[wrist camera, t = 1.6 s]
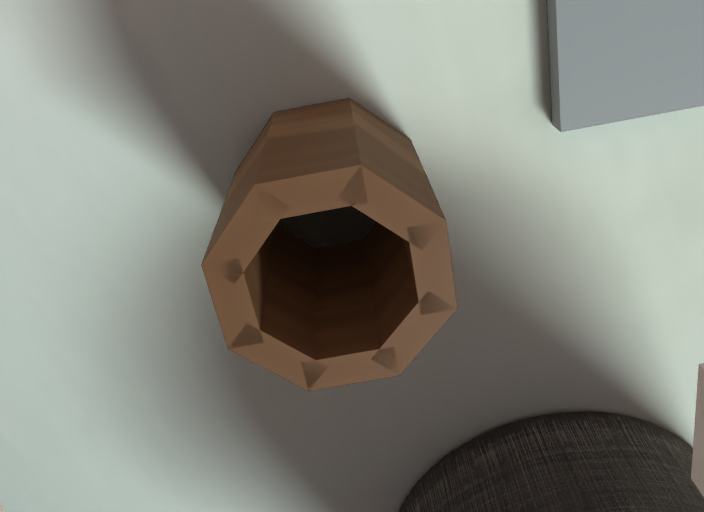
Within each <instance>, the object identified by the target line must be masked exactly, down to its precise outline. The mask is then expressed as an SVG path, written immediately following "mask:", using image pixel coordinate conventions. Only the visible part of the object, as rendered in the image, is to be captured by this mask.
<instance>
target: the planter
mask: <svg viewBox="0 0 704 512" xmlns="http://www.w3.org/2000/svg"><path fill="white" fill-rule="evenodd" d="M692 456H693V449H692V448H691V447H690V446H689V445H688V444H687V443H685V442H684V441H683V440H682V439H680V438H678V437H677V436H675V435H674V434H672V433H670V432H668V431H666V430H665V429H663V428H661V427H658V426H656V425H653V424H651V423H648V422H645V421H642V420H639V419H635V418H631V417H627V416H622V415H616V414H608V413H597V412H571V413H560V414H552V415H545V416H540V417H535V418H530V419H526V420H523V421H519V422H515V423H512V424H509V425H506V426H503V427H500V428H498V429H495V430H493V431H491V432H488V433H486V434H484V435H482V436H480V437H478V438H476V439H474V440H472V441H470V442H468V443H467V444H465V445H463V446H461V447H460V448H458V449H457V450H455V451H454V452H452V453H451V454H449V455H448V456H447V457H445V458H444V459H443V460H441V461H440V462H439V463H438V464H437V465H436V466H434V467H433V468H432V469H431V470H430V471H429V472H428V473H427V474H426V475H425V476H424V477H423V478H422V479H421V480H420V481H419V483H418V484H417V485H416V486H415V487H414V489H413V490H412V491H411V493H410V494H409V496H408V497H407V499H406V500H405V502H404V504H403V505H402V507H401V509H400V511H399V512H704V497H703V495H702V494H701V492H700V491H699V489H698V488H697V486H696V485H695V483H694V482H693V480H692V479H691V470H692Z"/></svg>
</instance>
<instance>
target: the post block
mask: <svg viewBox="0 0 704 512" xmlns="http://www.w3.org/2000/svg"><path fill="white" fill-rule="evenodd" d="M547 11H548V33H549V56H550V79H551V102H552V124H553V126H554V127H555V128H557V129H558V130H559V131H560V132H564V131H569V130H575V129H580V128H585V127H591V126H596V125H602V124H607V123H612V122H618V121H623V120H629V119H634V118H639V117H645V116H650V115H655V114H661V113H666V112H672V111H677V110H682V109H688V108H693V107H699V106H704V0H547Z"/></svg>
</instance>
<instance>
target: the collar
mask: <svg viewBox="0 0 704 512" xmlns="http://www.w3.org/2000/svg"><path fill="white" fill-rule="evenodd" d="M347 206H353V207H354V208H356V209H357V210H359V211H361V212H362V213H364V214H365V215H367V216H369V217H370V218H372V219H373V220H375V221H376V222H378V223H377V224H376V225H375V227H374V228H373V229H372V230H371V232H370V233H369V234H368V236H367V237H366V238H365V240H362V241H356V242H351V243H345V244H340V245H334V246H329V247H323V248H316V247H314V246H312V245H311V244H309V243H307V242H306V241H304V240H302V239H301V238H299V237H297V236H295V235H294V234H292V233H290V232H289V231H287V230H285V229H284V228H282V227H280V226H279V225H277V223H278V222H279V220H280V219H282V218H287V217H293V216H298V215H304V214H309V213H315V212H320V211H326V210H331V209H336V208H342V207H347ZM201 266H202V269H203V272H204V275H205V278H206V281H207V284H208V288H209V291H210V294H211V297H212V300H213V303H214V306H215V310H216V313H217V316H218V319H219V322H220V325H221V328H222V332H223V335H224V338H225V341H226V344H227V347H228V349H229V350H231V351H233V352H235V353H237V354H239V355H241V356H242V357H244V358H246V359H248V360H250V361H252V362H254V363H256V364H258V365H260V366H262V367H264V368H265V369H267V370H269V371H271V372H273V373H275V374H277V375H279V376H281V377H283V378H285V379H286V380H288V381H290V382H292V383H294V384H296V385H298V386H300V387H302V388H304V389H306V390H307V391H312V390H317V389H323V388H329V387H335V386H341V385H347V384H352V383H358V382H364V381H370V380H376V379H381V378H387V377H393V376H399V375H400V374H401V373H402V372H403V371H404V369H405V368H406V367H407V366H408V365H409V364H410V362H411V361H412V360H413V359H414V358H415V357H416V356H417V354H418V353H419V352H420V351H421V350H422V349H423V347H424V346H425V345H426V344H427V343H428V342H429V341H430V339H431V338H432V337H433V336H434V335H435V334H436V332H437V331H438V330H439V329H440V328H441V327H442V326H443V324H444V323H445V322H446V321H447V320H448V319H449V317H450V316H451V315H452V314H453V313H454V312H455V311H456V309H457V304H456V296H455V288H454V280H453V272H452V264H451V256H450V248H449V240H448V232H447V224H446V219H445V217H444V215H443V213H442V210H441V208H440V206H439V203H438V201H437V199H436V197H435V194H434V192H433V190H432V187H431V185H430V183H429V180H428V178H427V176H426V174H425V171H424V169H423V167H422V164H421V162H420V160H419V157H418V155H417V153H416V151H415V148H414V146H413V144H412V141H411V140H410V139H409V138H407V137H406V136H404V135H403V134H401V133H400V132H398V131H397V130H395V129H394V128H393V127H391V126H390V125H388V124H387V123H385V122H384V121H382V120H381V119H379V118H378V117H377V116H375V115H374V114H372V113H371V112H369V111H368V110H366V109H365V108H363V107H362V106H361V105H359V104H358V103H356V102H355V101H353V100H352V99H350V98H347V99H341V100H336V101H331V102H326V103H320V104H315V105H310V106H305V107H299V108H294V109H289V110H284V111H278V112H274V113H273V115H272V116H271V118H270V119H269V121H268V123H267V124H266V126H265V127H264V129H263V130H262V132H261V133H260V135H259V137H258V138H257V140H256V141H255V143H254V144H253V146H252V147H251V149H250V151H249V152H248V154H247V155H246V157H245V158H244V160H243V161H242V163H241V165H240V166H239V168H238V169H237V171H236V172H235V174H234V177H233V180H232V183H231V185H230V188H229V191H228V194H227V196H226V199H225V202H224V204H223V207H222V210H221V213H220V215H219V218H218V221H217V224H216V226H215V229H214V232H213V235H212V237H211V240H210V243H209V246H208V248H207V251H206V254H205V256H204V259H203V262H202V265H201Z"/></svg>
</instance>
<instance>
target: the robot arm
mask: <svg viewBox="0 0 704 512" xmlns="http://www.w3.org/2000/svg"><path fill="white" fill-rule="evenodd" d="M691 479H692V480H693V482H694V483H695V485H696V486H697V488H698V489H699V491H700V492H701V494H702V495H703V497H704V363H703V364H699V369H698V384H697V398H696V413H695V427H694V441H693V456H692V470H691ZM0 512H6V511H5V510H4V508H3V506H2V504H1V503H0Z"/></svg>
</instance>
